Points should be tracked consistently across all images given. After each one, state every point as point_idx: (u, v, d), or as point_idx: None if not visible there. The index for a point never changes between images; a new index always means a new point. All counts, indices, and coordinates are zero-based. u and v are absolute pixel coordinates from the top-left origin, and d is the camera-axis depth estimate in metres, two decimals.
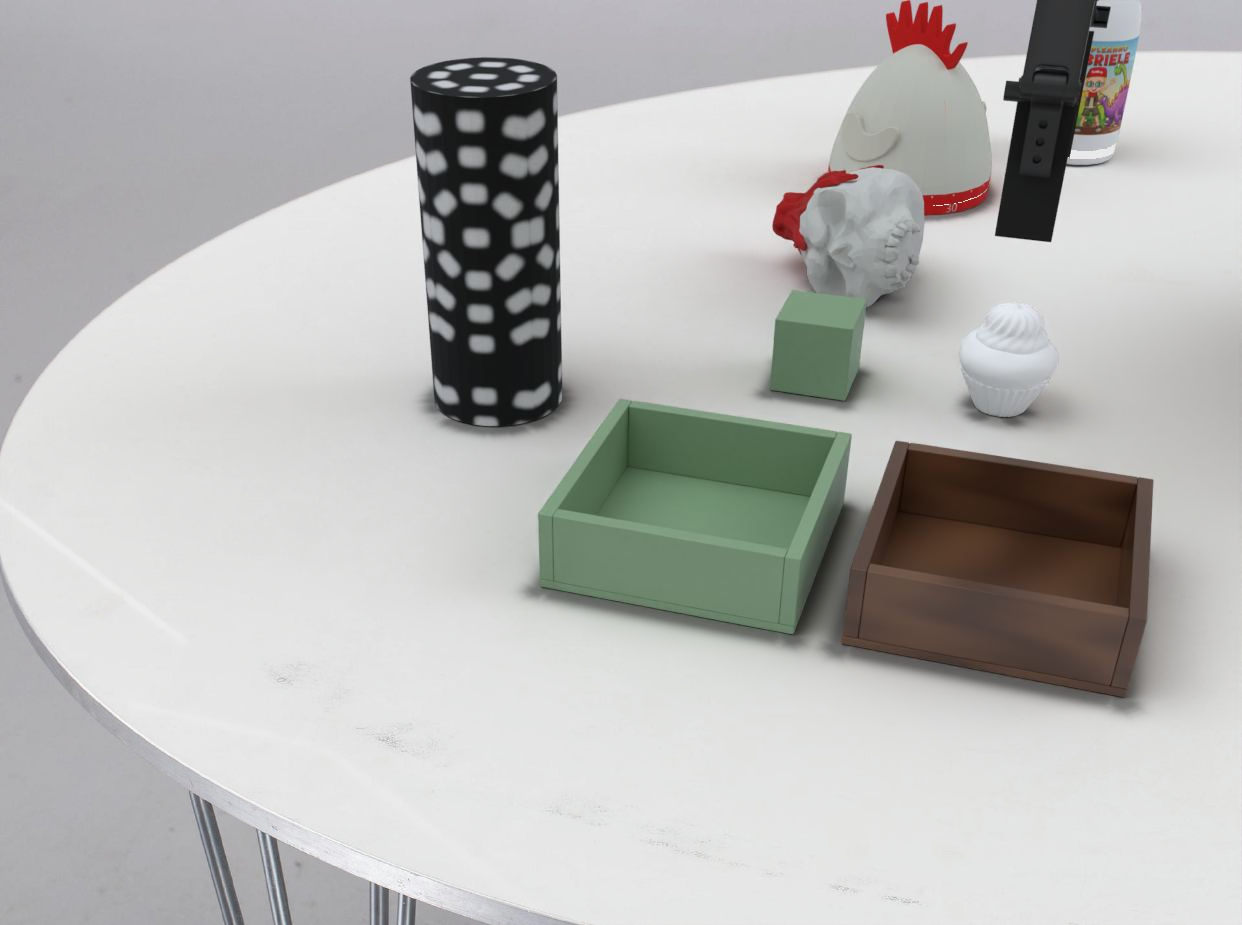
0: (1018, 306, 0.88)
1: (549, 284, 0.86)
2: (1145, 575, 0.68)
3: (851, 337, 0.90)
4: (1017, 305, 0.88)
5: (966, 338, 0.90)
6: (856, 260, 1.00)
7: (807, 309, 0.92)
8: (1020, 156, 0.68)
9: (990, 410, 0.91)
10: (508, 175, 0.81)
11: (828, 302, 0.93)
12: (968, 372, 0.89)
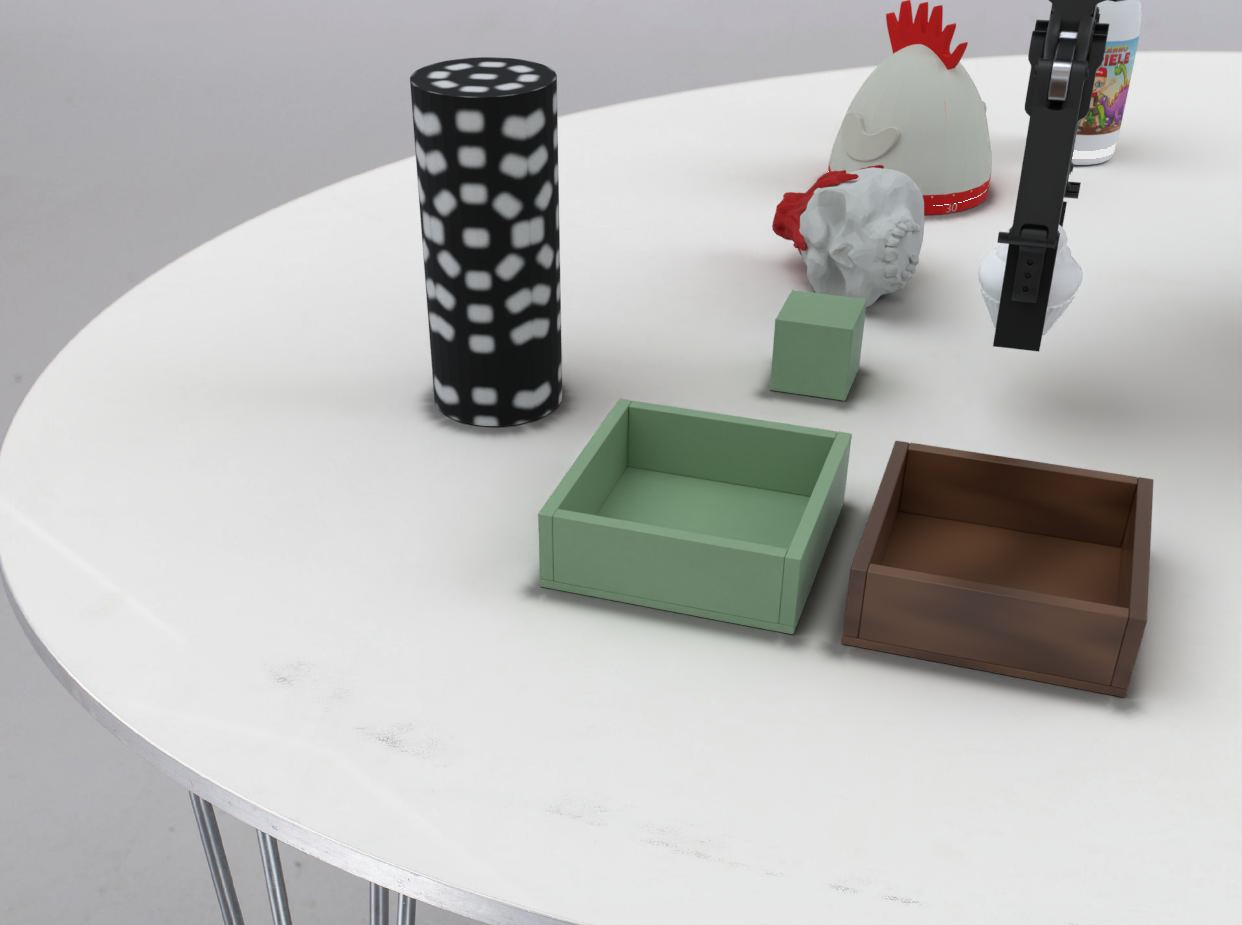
0: None
1: (549, 284, 0.86)
2: (1145, 575, 0.68)
3: (851, 337, 0.90)
4: None
5: (986, 257, 0.87)
6: (856, 260, 1.00)
7: (807, 309, 0.92)
8: (1012, 284, 0.84)
9: None
10: (508, 175, 0.81)
11: (828, 302, 0.93)
12: (988, 291, 0.86)
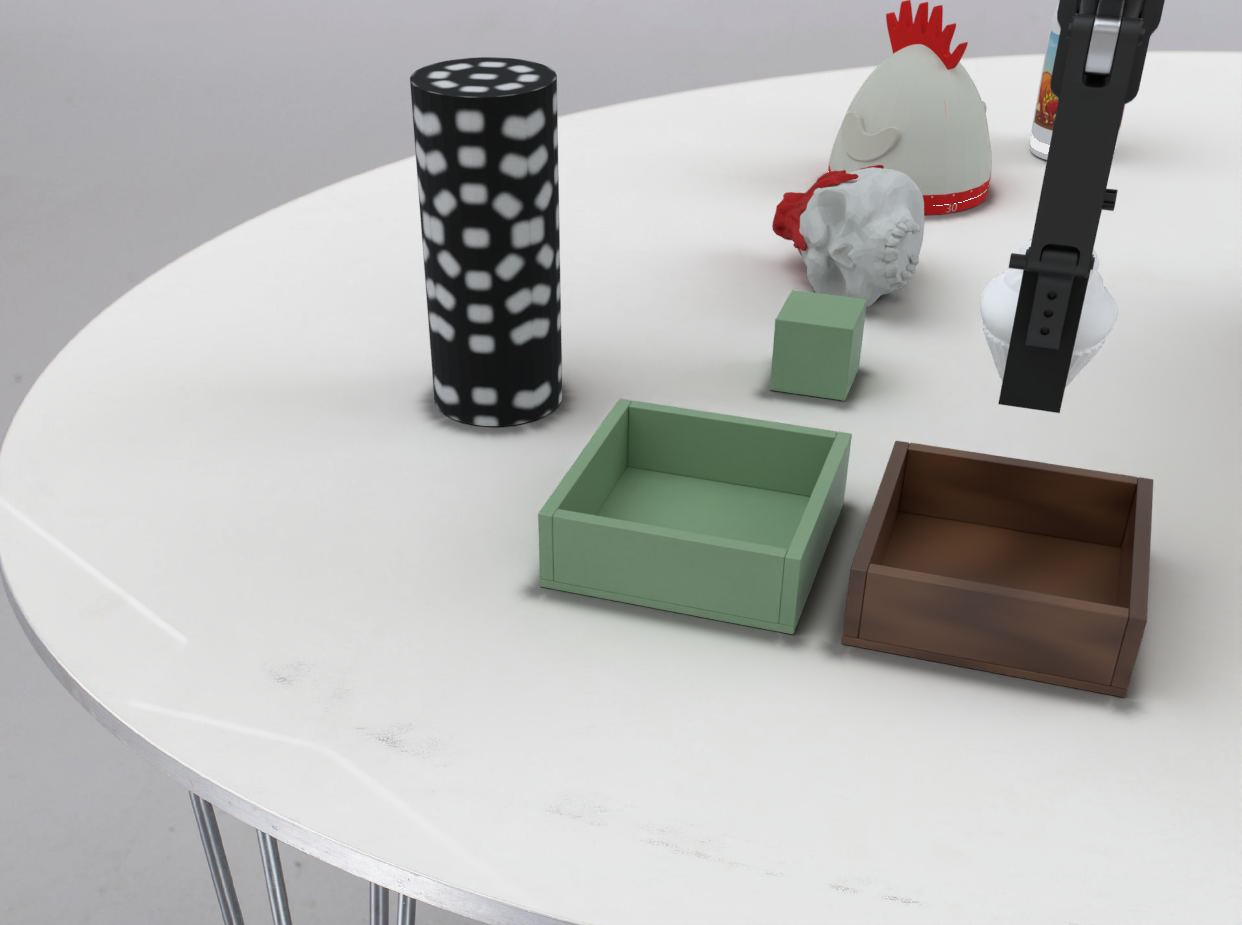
0: None
1: (549, 284, 0.86)
2: (1145, 575, 0.68)
3: (851, 337, 0.90)
4: None
5: (990, 284, 0.66)
6: (856, 260, 1.00)
7: (807, 309, 0.92)
8: (1026, 324, 0.62)
9: None
10: (508, 175, 0.81)
11: (828, 302, 0.93)
12: (993, 330, 0.65)
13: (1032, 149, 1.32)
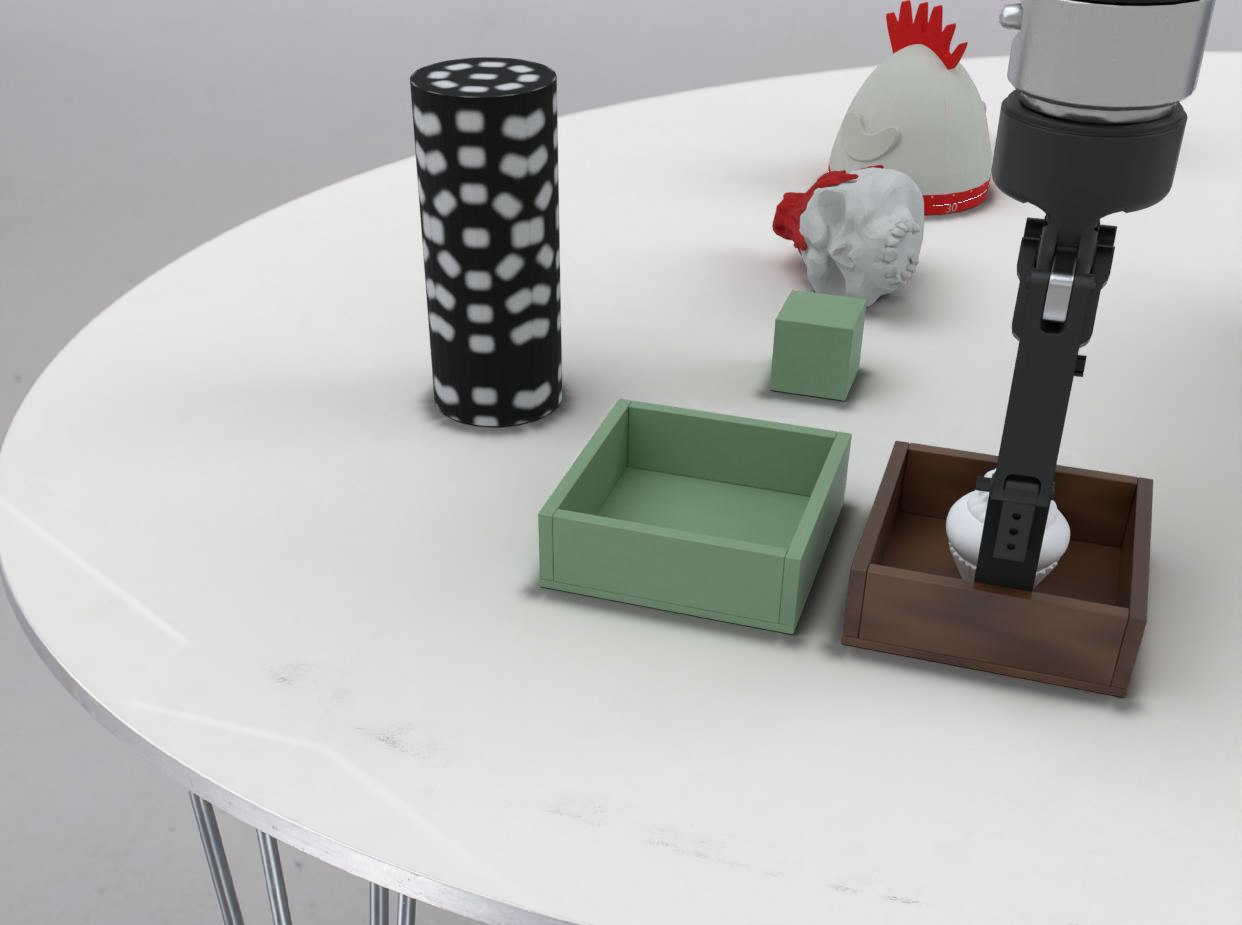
0: None
1: (549, 284, 0.86)
2: (1145, 575, 0.68)
3: (851, 337, 0.90)
4: None
5: (955, 507, 0.73)
6: (856, 260, 1.00)
7: (807, 309, 0.92)
8: (994, 536, 0.66)
9: None
10: (508, 175, 0.81)
11: (828, 302, 0.93)
12: (957, 551, 0.72)
13: None
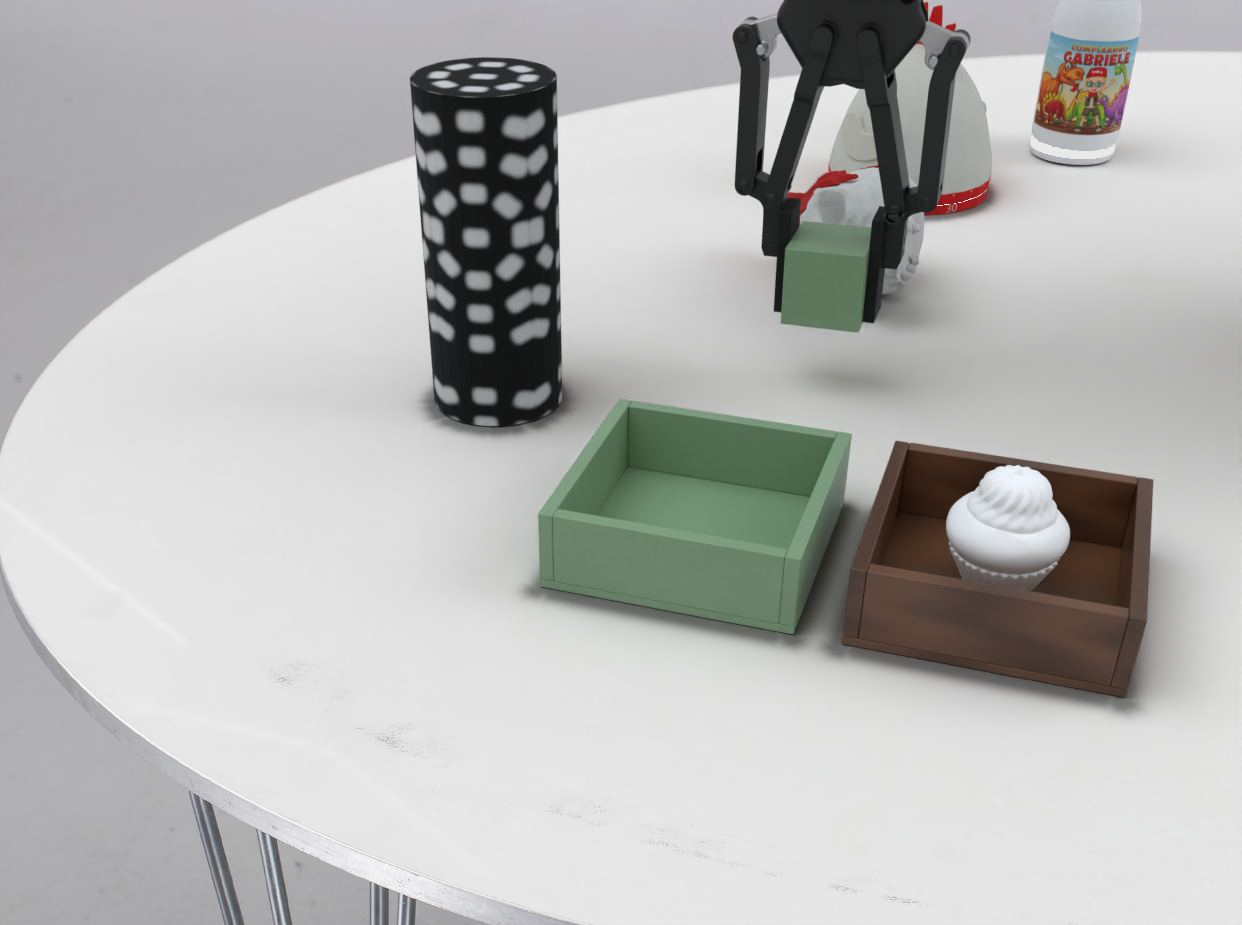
0: (1020, 473, 0.70)
1: (549, 284, 0.86)
2: (1145, 575, 0.68)
3: (864, 265, 0.87)
4: (1018, 471, 0.70)
5: (955, 507, 0.73)
6: None
7: (818, 238, 0.89)
8: None
9: None
10: (508, 175, 0.81)
11: (839, 231, 0.90)
12: (957, 551, 0.72)
13: (1032, 149, 1.32)
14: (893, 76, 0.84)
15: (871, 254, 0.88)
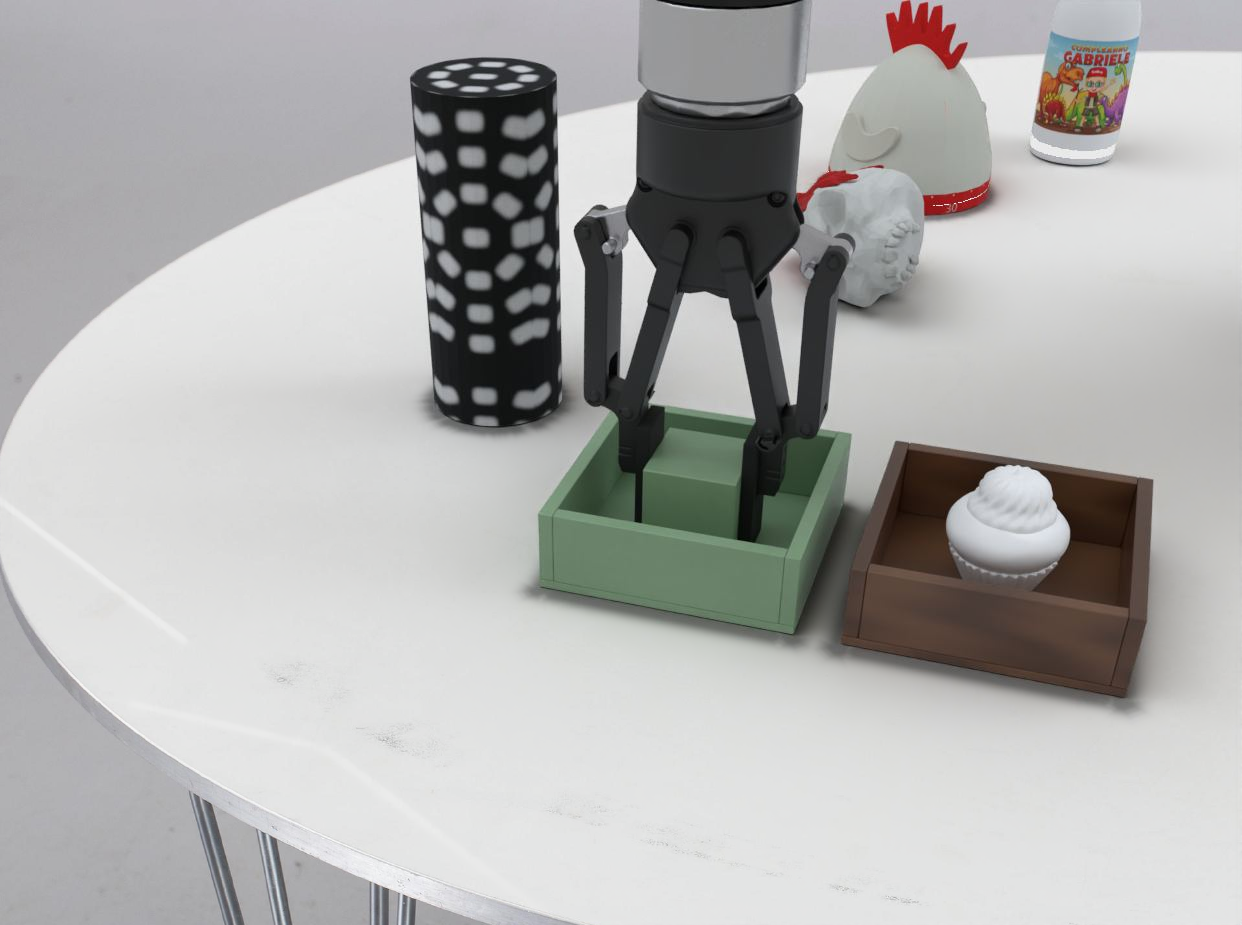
0: (1020, 473, 0.70)
1: (549, 284, 0.86)
2: (1145, 575, 0.68)
3: (734, 494, 0.73)
4: (1018, 471, 0.70)
5: (955, 507, 0.73)
6: (856, 260, 1.00)
7: (684, 455, 0.75)
8: None
9: None
10: (508, 175, 0.81)
11: (711, 445, 0.76)
12: (957, 551, 0.72)
13: (1032, 149, 1.32)
14: (766, 280, 0.70)
15: (744, 480, 0.74)
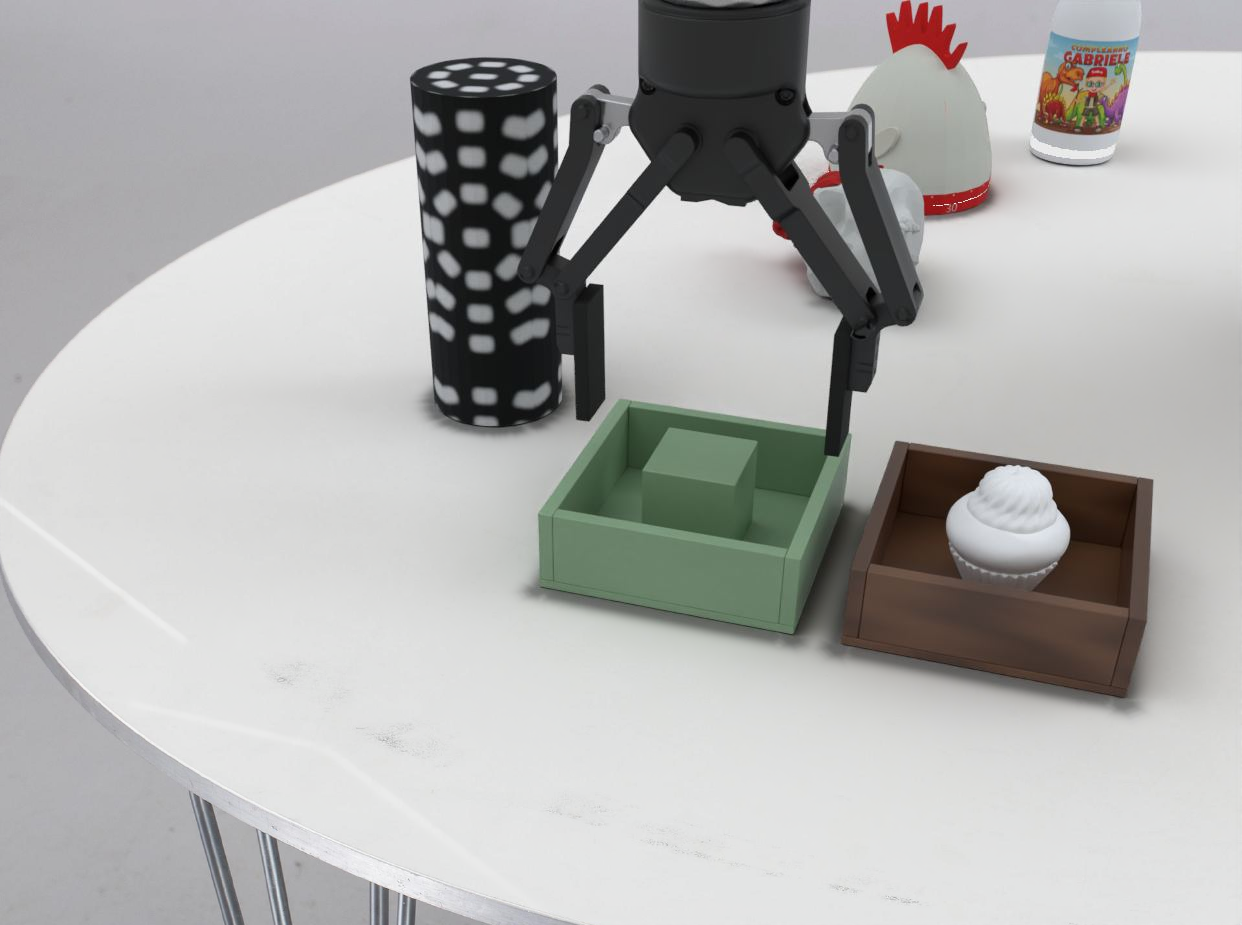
0: (1020, 473, 0.70)
1: None
2: (1145, 575, 0.68)
3: (733, 494, 0.73)
4: (1018, 471, 0.70)
5: (955, 507, 0.73)
6: None
7: (683, 455, 0.75)
8: None
9: None
10: (508, 175, 0.81)
11: (710, 445, 0.76)
12: (957, 551, 0.72)
13: (1032, 149, 1.32)
14: (797, 174, 0.67)
15: (834, 375, 0.69)
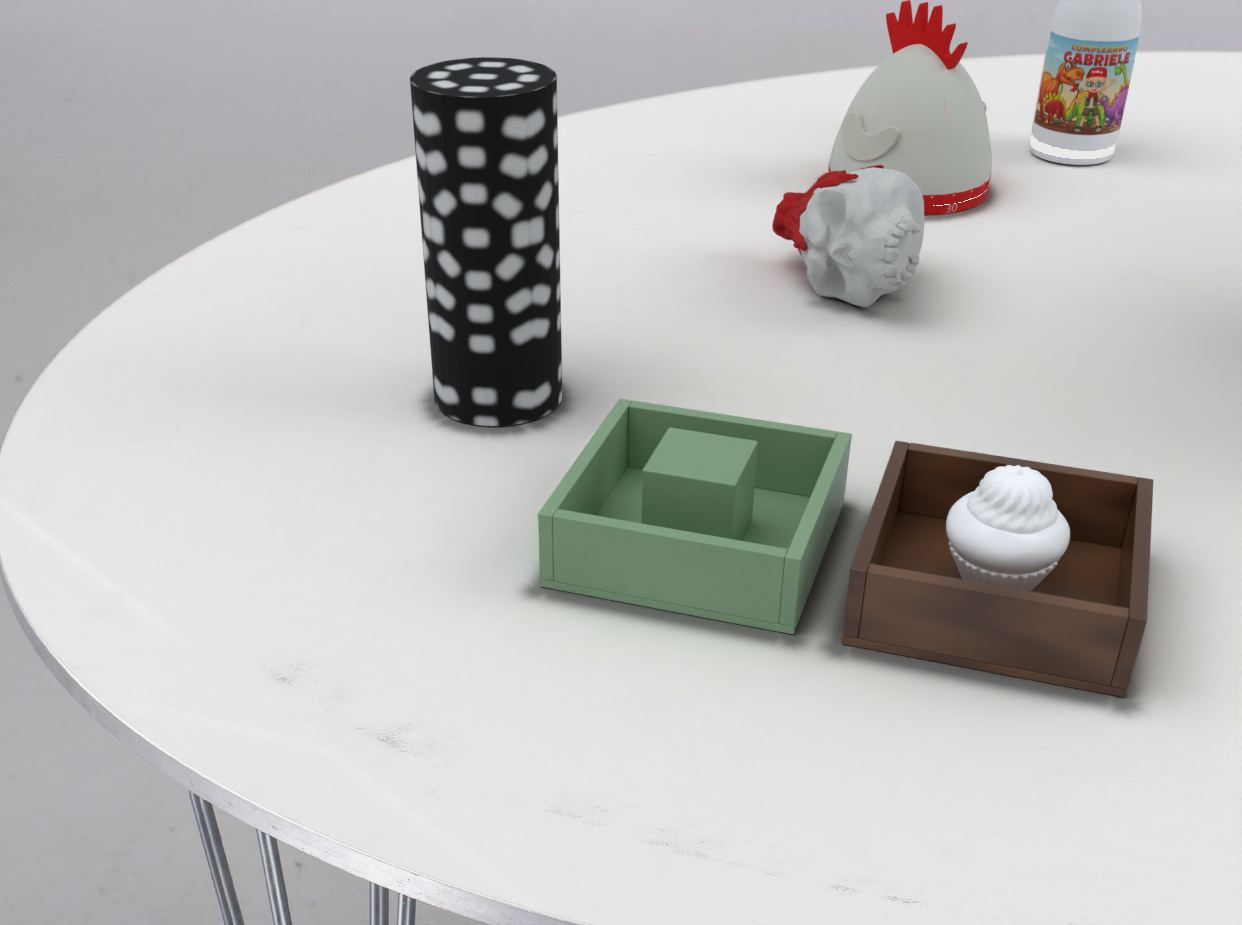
0: (1020, 473, 0.70)
1: (549, 284, 0.86)
2: (1145, 575, 0.68)
3: (733, 494, 0.73)
4: (1018, 471, 0.70)
5: (955, 507, 0.73)
6: (856, 260, 1.00)
7: (683, 455, 0.75)
8: None
9: None
10: (508, 175, 0.81)
11: (710, 445, 0.76)
12: (957, 551, 0.72)
13: (1032, 149, 1.32)
14: None
15: None
